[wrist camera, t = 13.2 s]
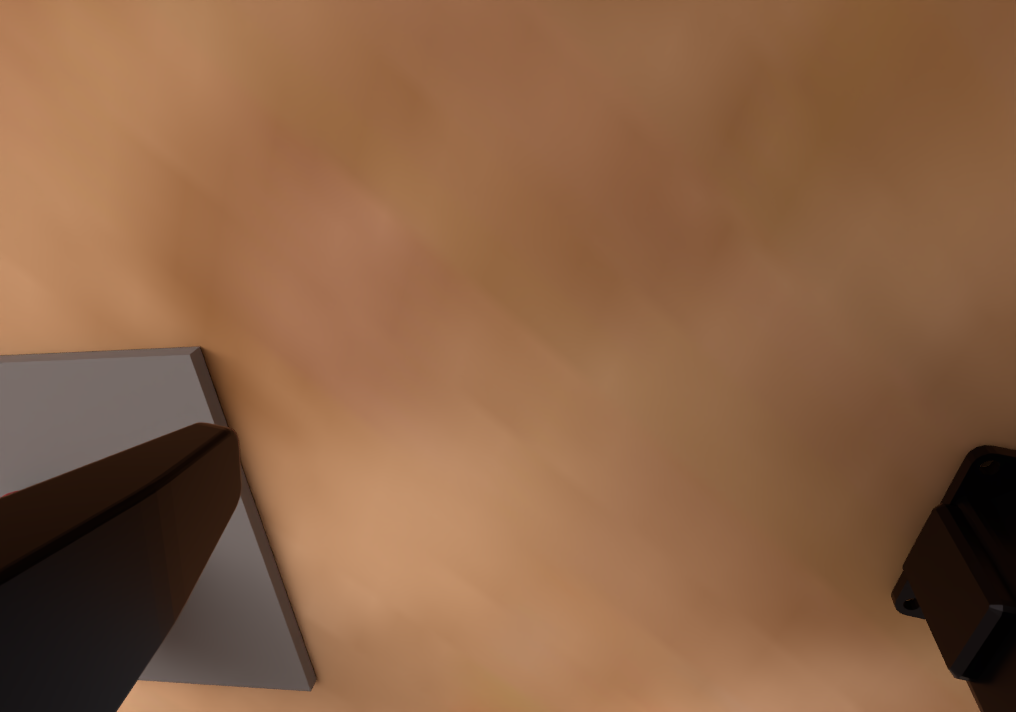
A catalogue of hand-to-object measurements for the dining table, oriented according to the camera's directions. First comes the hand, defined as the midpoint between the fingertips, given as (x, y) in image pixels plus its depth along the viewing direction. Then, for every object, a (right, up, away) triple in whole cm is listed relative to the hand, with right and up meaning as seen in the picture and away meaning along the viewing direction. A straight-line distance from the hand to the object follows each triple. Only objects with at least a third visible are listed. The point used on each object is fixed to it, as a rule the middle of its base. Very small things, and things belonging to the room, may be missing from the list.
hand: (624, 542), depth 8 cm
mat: (-18, -5, +21) cm, 28 cm away
